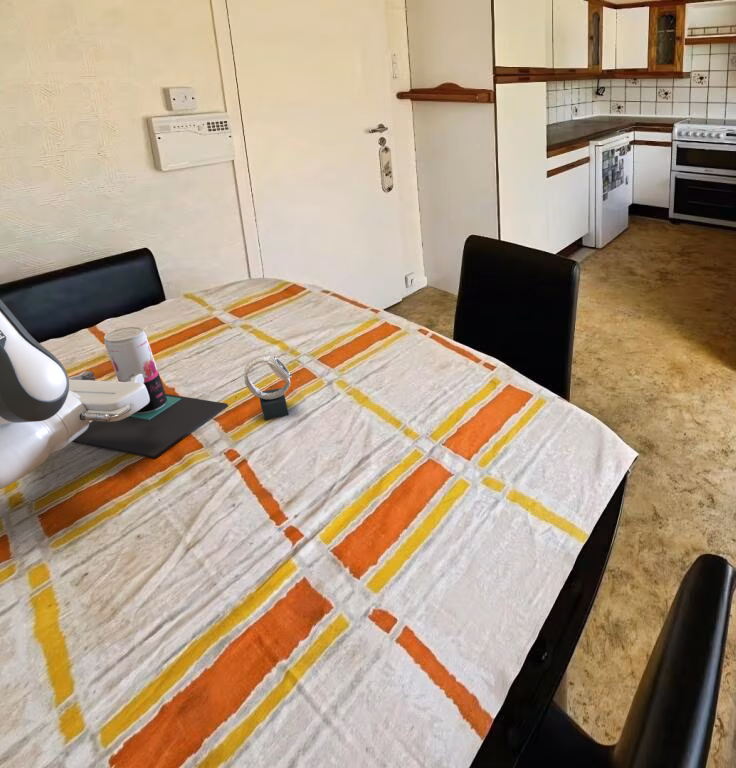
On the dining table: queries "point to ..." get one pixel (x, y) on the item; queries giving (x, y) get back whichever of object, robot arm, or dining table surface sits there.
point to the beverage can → (135, 363)
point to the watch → (271, 399)
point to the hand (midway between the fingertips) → (115, 376)
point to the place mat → (151, 428)
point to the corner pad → (151, 414)
